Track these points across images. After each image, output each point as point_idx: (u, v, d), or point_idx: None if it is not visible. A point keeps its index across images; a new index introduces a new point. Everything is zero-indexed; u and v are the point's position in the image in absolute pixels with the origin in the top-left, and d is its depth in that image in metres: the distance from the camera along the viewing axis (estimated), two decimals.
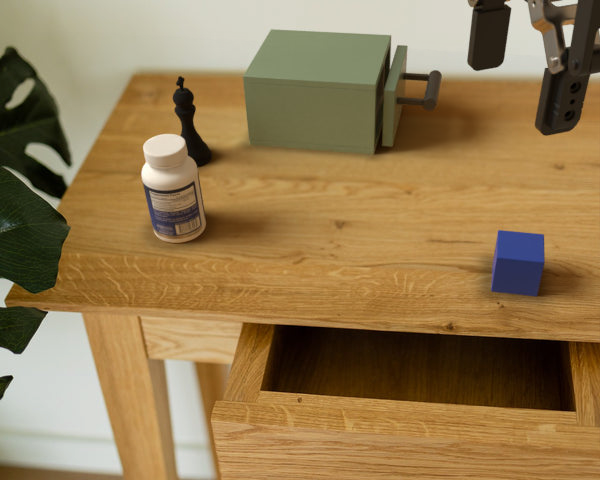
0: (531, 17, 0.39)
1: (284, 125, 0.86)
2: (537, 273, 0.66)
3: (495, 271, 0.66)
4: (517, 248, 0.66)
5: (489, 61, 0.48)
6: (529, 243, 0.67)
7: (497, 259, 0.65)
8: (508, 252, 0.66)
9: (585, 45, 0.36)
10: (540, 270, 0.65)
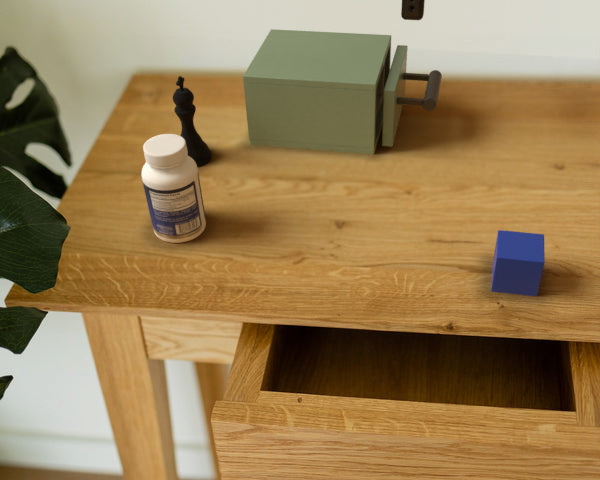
0: None
1: (284, 125, 0.86)
2: (537, 273, 0.66)
3: (495, 271, 0.66)
4: (517, 248, 0.66)
5: None
6: (529, 243, 0.67)
7: (497, 259, 0.65)
8: (508, 252, 0.66)
9: None
10: (540, 270, 0.65)
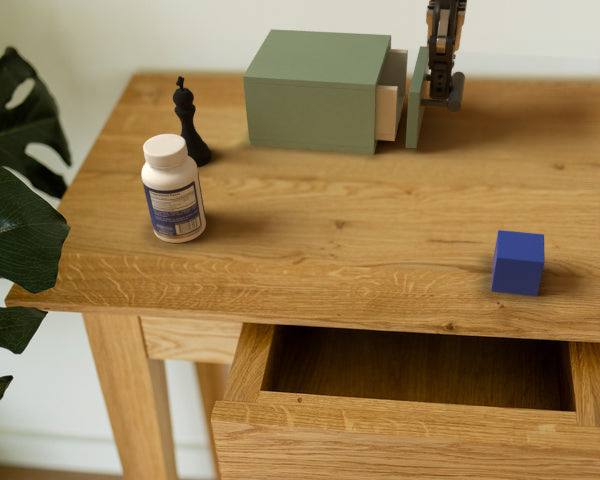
0: None
1: (284, 125, 0.86)
2: (537, 273, 0.66)
3: (495, 271, 0.66)
4: (517, 248, 0.66)
5: None
6: (529, 243, 0.67)
7: (497, 259, 0.65)
8: (508, 252, 0.66)
9: (428, 64, 0.80)
10: (540, 270, 0.65)
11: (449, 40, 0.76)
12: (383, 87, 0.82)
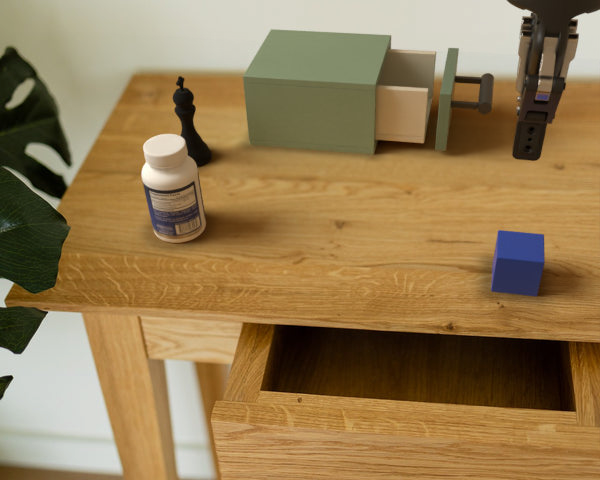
0: None
1: (284, 125, 0.86)
2: (537, 273, 0.66)
3: (495, 271, 0.66)
4: (517, 248, 0.66)
5: None
6: (529, 243, 0.67)
7: (497, 259, 0.65)
8: (508, 252, 0.66)
9: (519, 114, 0.55)
10: (540, 270, 0.65)
11: (557, 83, 0.51)
12: (413, 89, 0.81)
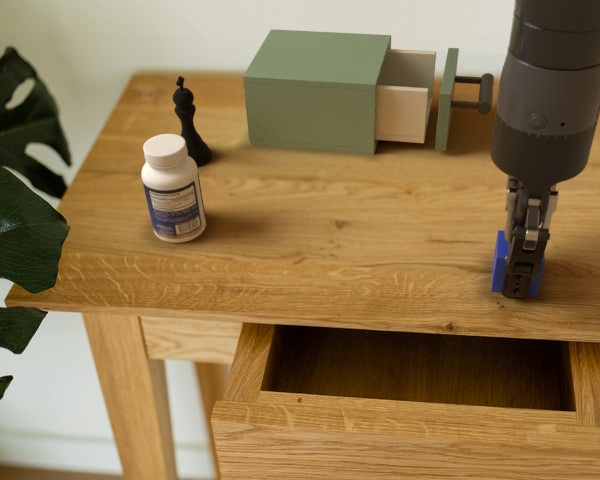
0: None
1: (284, 125, 0.86)
2: None
3: (495, 271, 0.66)
4: None
5: None
6: None
7: (497, 259, 0.65)
8: None
9: (508, 264, 0.61)
10: (540, 270, 0.65)
11: (543, 232, 0.57)
12: (413, 89, 0.81)
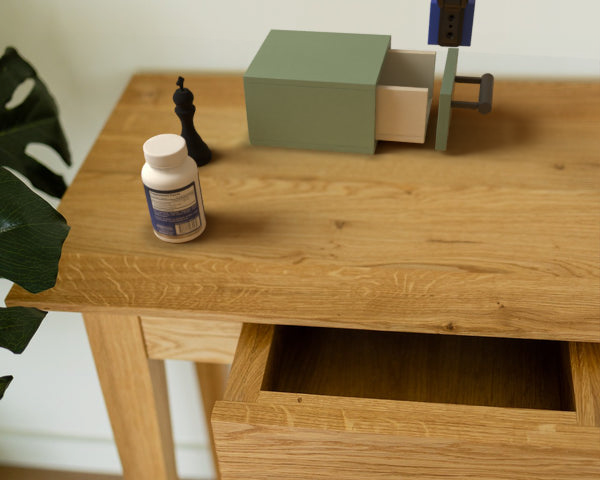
0: None
1: (284, 125, 0.86)
2: (469, 18, 0.69)
3: (430, 19, 0.70)
4: None
5: None
6: None
7: (431, 5, 0.69)
8: None
9: None
10: (471, 14, 0.69)
11: None
12: (413, 89, 0.81)
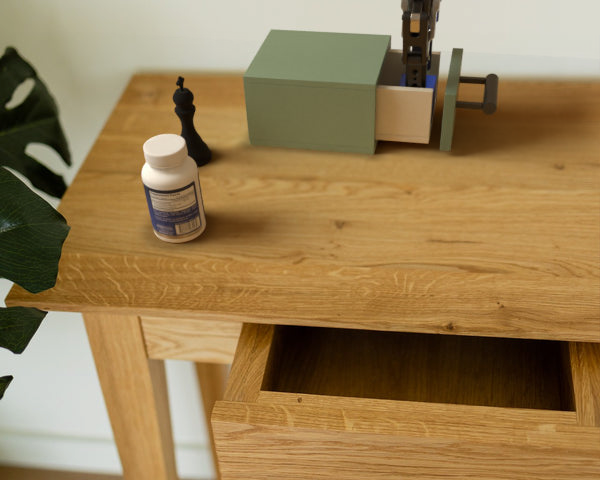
0: None
1: (284, 125, 0.86)
2: None
3: None
4: None
5: None
6: None
7: None
8: None
9: None
10: None
11: (424, 13, 0.74)
12: (418, 89, 0.81)
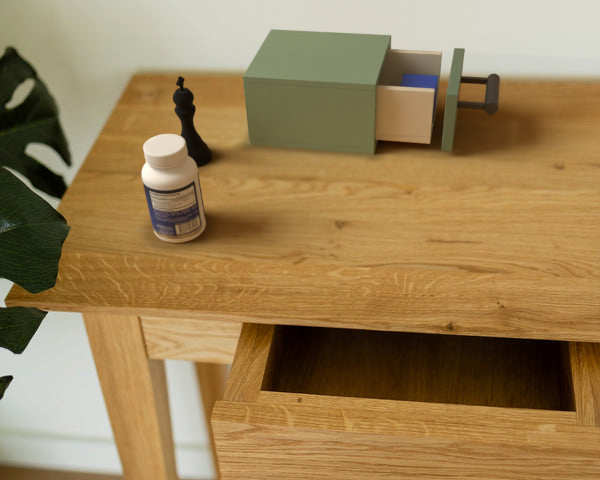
0: None
1: (284, 125, 0.86)
2: None
3: None
4: (415, 84, 0.85)
5: None
6: (425, 81, 0.86)
7: None
8: (408, 86, 0.85)
9: None
10: None
11: None
12: (420, 89, 0.81)
